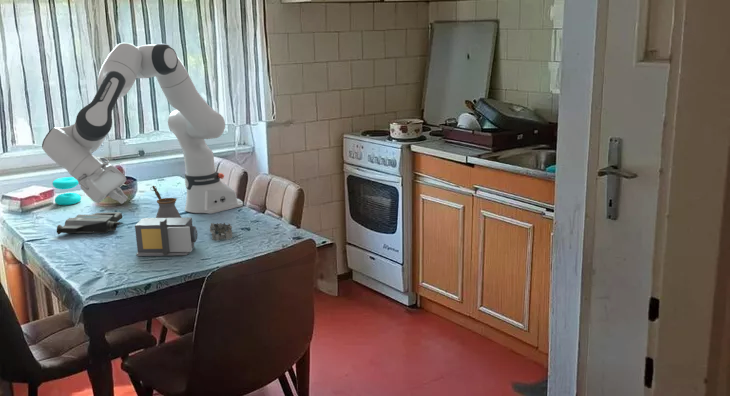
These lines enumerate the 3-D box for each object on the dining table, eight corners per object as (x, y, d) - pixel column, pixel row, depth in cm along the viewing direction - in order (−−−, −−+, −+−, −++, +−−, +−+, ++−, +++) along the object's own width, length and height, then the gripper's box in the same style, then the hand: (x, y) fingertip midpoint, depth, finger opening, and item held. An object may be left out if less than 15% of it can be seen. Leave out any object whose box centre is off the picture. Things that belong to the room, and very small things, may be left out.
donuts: (81, 179, 287) (55, 183, 281) (84, 203, 289) (58, 207, 284) (74, 175, 295) (49, 178, 289) (77, 198, 297) (52, 202, 292)
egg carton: (232, 240, 239) (232, 228, 238) (210, 242, 238) (209, 230, 237) (232, 230, 249) (231, 219, 248) (211, 232, 248) (210, 221, 247)
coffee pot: (191, 237, 242) (187, 194, 238) (158, 243, 236) (153, 200, 232) (172, 222, 260) (168, 182, 256) (141, 228, 254) (136, 187, 250)
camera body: (200, 246, 232) (197, 217, 230) (192, 256, 223) (190, 226, 220) (146, 247, 233) (143, 218, 230) (136, 257, 223) (133, 226, 221)
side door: (191, 250, 224) (188, 217, 221) (188, 254, 220) (185, 221, 217) (166, 251, 224) (163, 217, 221) (163, 255, 220) (159, 221, 217)
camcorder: (119, 233, 249) (117, 219, 247) (56, 238, 244) (55, 224, 243) (123, 221, 264) (121, 207, 263) (65, 225, 260) (63, 212, 258)
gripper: (81, 172, 204) (119, 203, 207) (107, 156, 224) (142, 185, 226) (68, 187, 206) (106, 218, 208) (95, 170, 225) (130, 199, 228)
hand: (125, 200), depth 217 cm, fingers closed
